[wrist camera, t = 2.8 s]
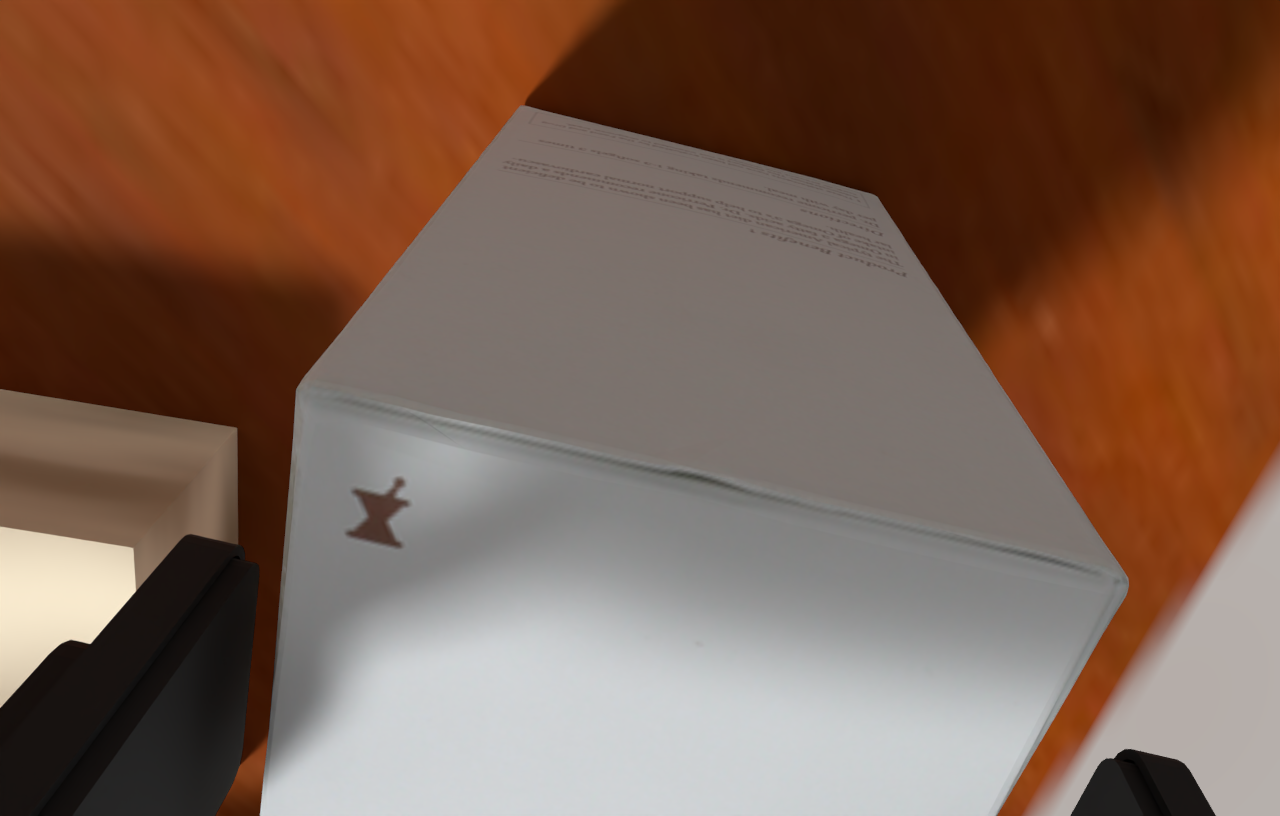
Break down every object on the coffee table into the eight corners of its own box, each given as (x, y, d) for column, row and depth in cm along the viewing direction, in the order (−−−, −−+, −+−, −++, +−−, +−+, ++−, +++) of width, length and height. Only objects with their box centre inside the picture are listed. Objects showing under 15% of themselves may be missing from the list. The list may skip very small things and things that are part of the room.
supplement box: (451, 433, 23) (210, 967, 11) (517, 92, 20) (276, 360, 8) (778, 513, 23) (859, 1101, 12) (896, 193, 20) (1162, 578, 9)
